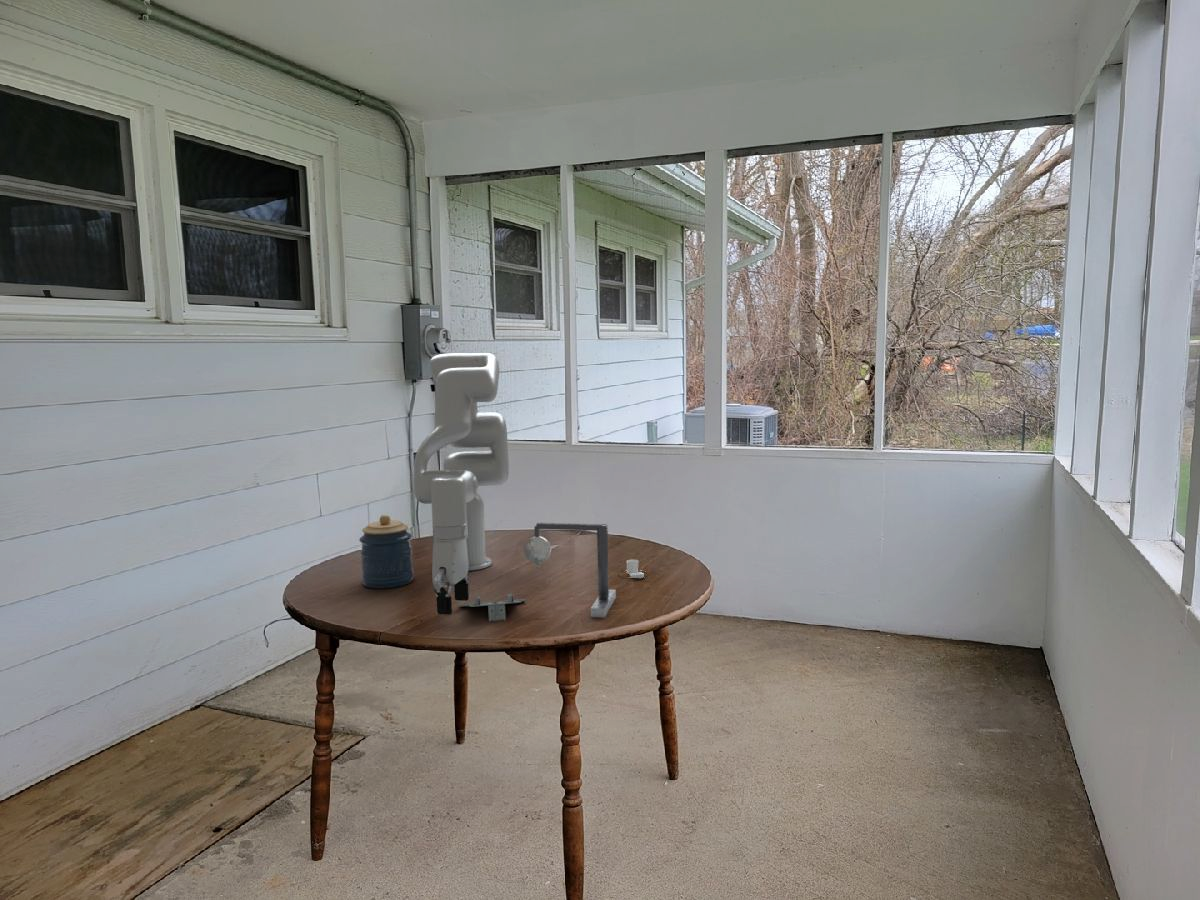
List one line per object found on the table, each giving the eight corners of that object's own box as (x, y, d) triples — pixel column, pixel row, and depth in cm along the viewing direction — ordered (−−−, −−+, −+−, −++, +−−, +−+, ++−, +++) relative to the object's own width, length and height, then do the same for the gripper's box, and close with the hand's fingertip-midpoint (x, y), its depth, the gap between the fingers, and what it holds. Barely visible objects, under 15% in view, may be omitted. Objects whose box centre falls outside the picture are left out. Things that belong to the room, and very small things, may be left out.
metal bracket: (530, 592, 171) (461, 598, 168) (532, 619, 171) (462, 625, 167) (522, 592, 185) (458, 597, 182) (524, 617, 184) (460, 623, 181)
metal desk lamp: (517, 613, 174) (515, 529, 172) (535, 594, 188) (533, 516, 186) (604, 617, 170) (602, 532, 168) (615, 598, 184) (614, 518, 182)
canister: (421, 583, 199) (417, 515, 197) (370, 592, 192) (366, 522, 190) (404, 572, 210) (401, 507, 208) (355, 580, 203) (352, 513, 201)
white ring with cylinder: (645, 582, 198) (645, 566, 198) (614, 580, 200) (614, 565, 199) (650, 572, 207) (650, 557, 206) (620, 571, 208) (620, 556, 208)
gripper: (449, 523, 181) (452, 594, 183) (417, 540, 164) (421, 619, 166) (480, 523, 179) (483, 596, 182) (450, 541, 163) (454, 620, 165)
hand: (453, 606), depth 174 cm, fingers open, 9 cm apart
